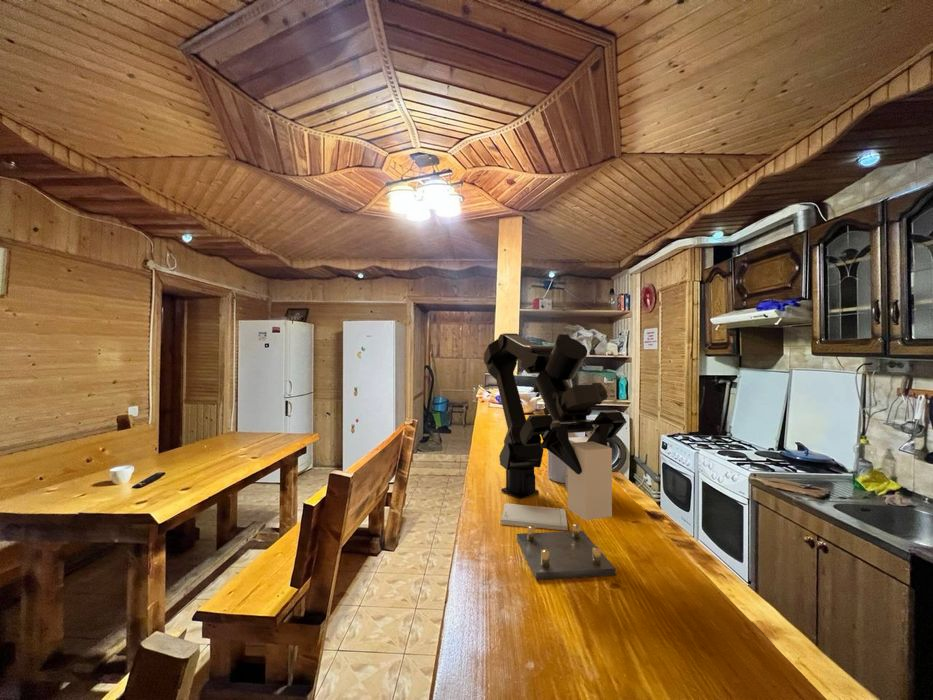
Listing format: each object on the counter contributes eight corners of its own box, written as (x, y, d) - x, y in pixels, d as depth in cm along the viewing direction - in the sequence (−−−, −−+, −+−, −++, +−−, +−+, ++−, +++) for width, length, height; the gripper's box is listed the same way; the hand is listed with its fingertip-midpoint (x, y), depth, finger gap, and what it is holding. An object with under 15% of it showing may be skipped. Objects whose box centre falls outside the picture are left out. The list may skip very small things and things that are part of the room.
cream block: (567, 508, 64) (567, 443, 64) (592, 504, 65) (592, 441, 65) (585, 520, 59) (585, 450, 59) (611, 516, 61) (611, 448, 61)
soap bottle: (555, 471, 105) (555, 383, 106) (588, 477, 100) (587, 385, 101) (542, 479, 98) (542, 385, 99) (576, 486, 93) (576, 387, 93)
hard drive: (500, 518, 72) (567, 524, 70) (504, 502, 80) (565, 507, 78) (500, 527, 72) (567, 533, 70) (504, 510, 80) (565, 515, 78)
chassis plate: (516, 539, 66) (516, 522, 66) (582, 536, 67) (582, 519, 67) (535, 579, 54) (535, 558, 54) (615, 575, 55) (615, 554, 55)
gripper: (527, 367, 63) (562, 448, 53) (619, 366, 69) (668, 440, 58) (508, 408, 71) (536, 486, 60) (592, 404, 76) (631, 475, 66)
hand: (594, 471), depth 61 cm, fingers closed on cream block, 5 cm apart
